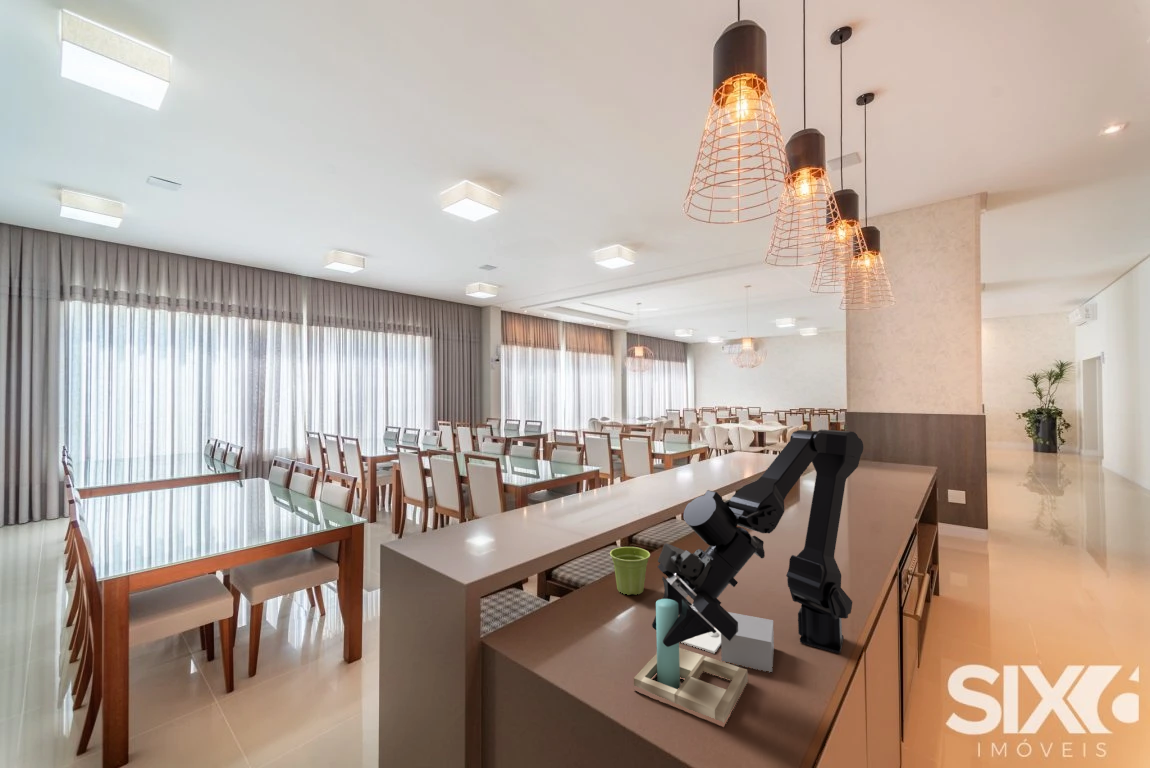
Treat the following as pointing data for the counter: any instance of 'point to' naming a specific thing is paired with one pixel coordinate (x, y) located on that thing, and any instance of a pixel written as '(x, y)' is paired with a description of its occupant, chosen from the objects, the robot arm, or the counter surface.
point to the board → (697, 684)
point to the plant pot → (630, 569)
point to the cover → (750, 643)
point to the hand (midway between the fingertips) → (659, 636)
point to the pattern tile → (706, 641)
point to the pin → (665, 655)
